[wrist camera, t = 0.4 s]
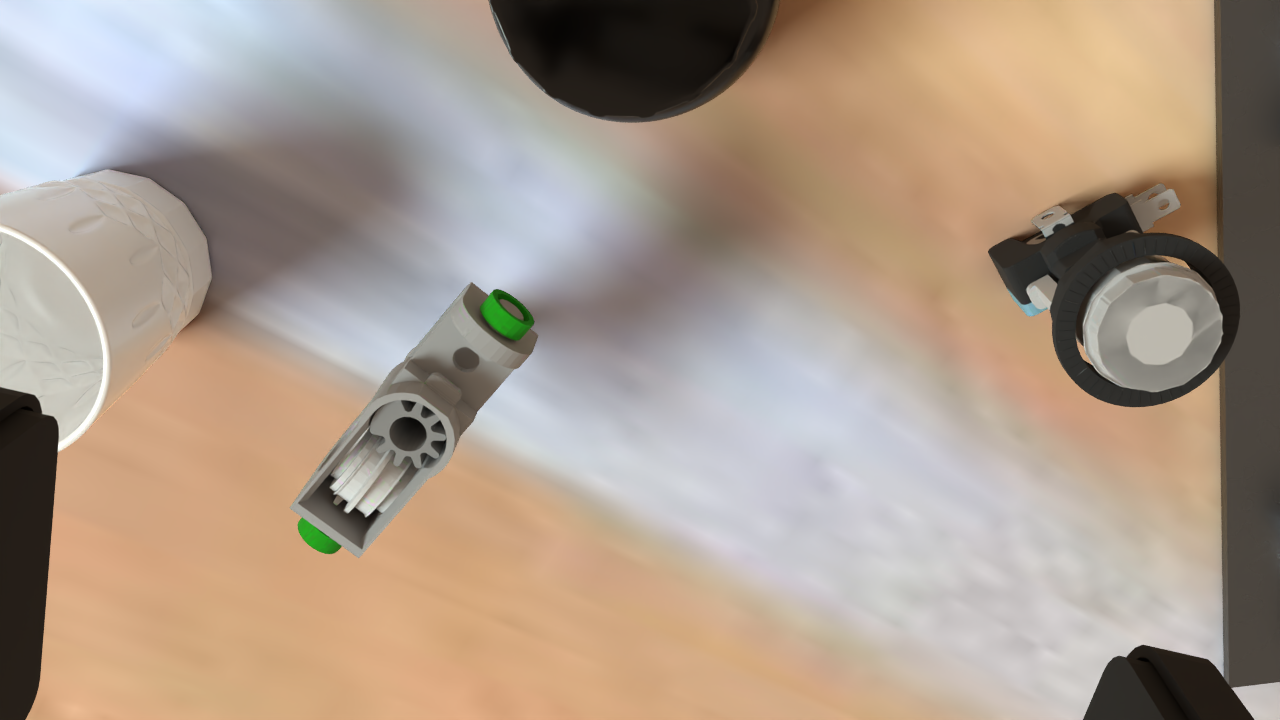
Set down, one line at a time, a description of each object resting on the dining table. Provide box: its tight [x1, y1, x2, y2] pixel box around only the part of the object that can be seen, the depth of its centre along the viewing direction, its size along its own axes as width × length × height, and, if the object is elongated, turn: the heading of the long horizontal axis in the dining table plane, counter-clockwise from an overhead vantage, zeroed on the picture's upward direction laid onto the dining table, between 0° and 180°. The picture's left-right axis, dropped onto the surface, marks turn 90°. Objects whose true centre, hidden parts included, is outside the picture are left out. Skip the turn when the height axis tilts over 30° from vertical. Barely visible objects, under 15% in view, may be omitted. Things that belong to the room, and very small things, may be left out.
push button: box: [988, 183, 1240, 407], centre depth 39 cm, size 7×5×10 cm
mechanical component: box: [290, 282, 538, 558], centre depth 41 cm, size 3×10×10 cm, turn 140°
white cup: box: [0, 169, 212, 452], centre depth 41 cm, size 8×8×10 cm
